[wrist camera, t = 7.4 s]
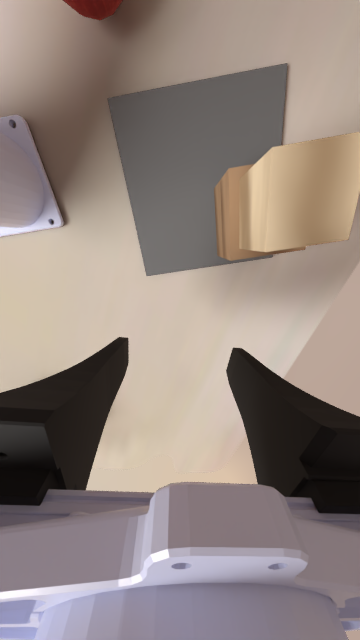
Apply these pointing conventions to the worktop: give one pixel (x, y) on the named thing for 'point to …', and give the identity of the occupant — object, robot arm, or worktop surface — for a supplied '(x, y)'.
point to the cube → (300, 194)
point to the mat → (192, 158)
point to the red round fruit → (94, 7)
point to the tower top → (236, 217)
